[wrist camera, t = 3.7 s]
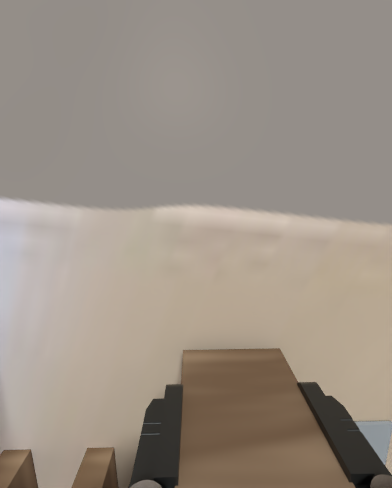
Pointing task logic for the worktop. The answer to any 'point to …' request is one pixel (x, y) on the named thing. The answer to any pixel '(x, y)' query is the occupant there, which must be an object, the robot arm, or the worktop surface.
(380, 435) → the slot pad
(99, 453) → the walnut domino
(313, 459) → the domino
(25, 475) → the walnut domino
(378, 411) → the worktop surface
